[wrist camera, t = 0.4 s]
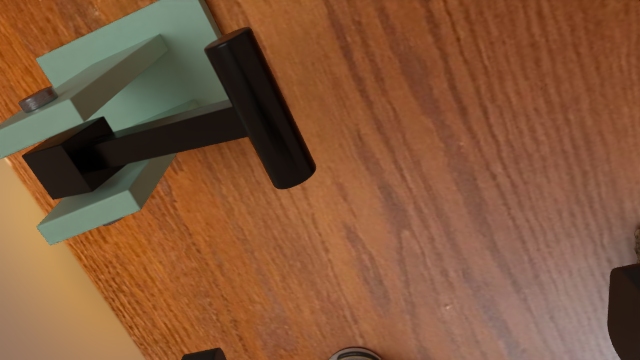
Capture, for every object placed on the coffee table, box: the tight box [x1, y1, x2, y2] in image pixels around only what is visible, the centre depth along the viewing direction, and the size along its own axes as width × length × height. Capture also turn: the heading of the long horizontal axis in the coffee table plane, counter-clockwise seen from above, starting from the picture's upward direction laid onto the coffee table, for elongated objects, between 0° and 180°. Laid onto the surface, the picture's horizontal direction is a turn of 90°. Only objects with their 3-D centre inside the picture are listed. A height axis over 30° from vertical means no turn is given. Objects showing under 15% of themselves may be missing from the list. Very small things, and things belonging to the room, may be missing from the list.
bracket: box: [0, 0, 228, 245], centre depth 27 cm, size 10×8×13 cm
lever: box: [22, 27, 316, 200], centre depth 21 cm, size 12×5×2 cm, turn 113°
